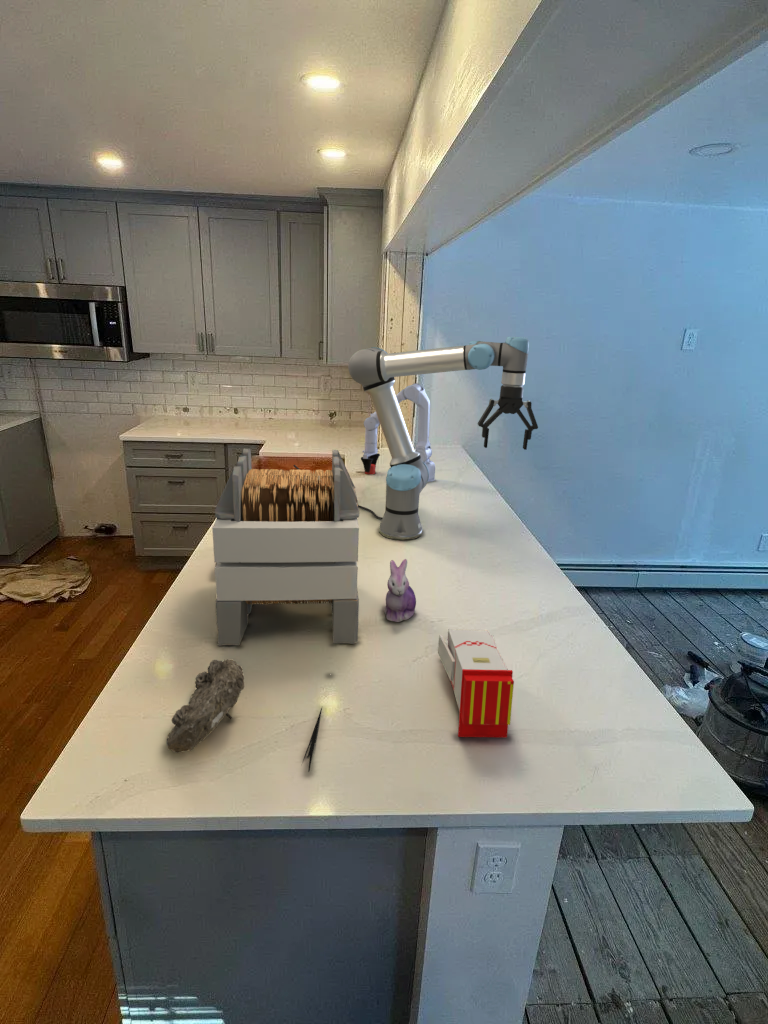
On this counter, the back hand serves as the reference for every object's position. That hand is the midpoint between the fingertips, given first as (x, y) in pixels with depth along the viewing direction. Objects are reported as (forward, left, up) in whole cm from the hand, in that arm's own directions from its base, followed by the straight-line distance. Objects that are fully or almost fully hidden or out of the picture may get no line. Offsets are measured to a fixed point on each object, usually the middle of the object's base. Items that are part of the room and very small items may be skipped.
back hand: (369, 470), depth 271 cm
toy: (+72, +148, -1) cm, 165 cm away
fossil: (+120, +128, -1) cm, 175 cm away
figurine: (+66, +115, -1) cm, 133 cm away
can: (0, 0, -1) cm, 1 cm away
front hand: (+1, +84, +30) cm, 89 cm away
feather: (+103, +139, -1) cm, 173 cm away
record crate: (+89, +99, -1) cm, 133 cm away
